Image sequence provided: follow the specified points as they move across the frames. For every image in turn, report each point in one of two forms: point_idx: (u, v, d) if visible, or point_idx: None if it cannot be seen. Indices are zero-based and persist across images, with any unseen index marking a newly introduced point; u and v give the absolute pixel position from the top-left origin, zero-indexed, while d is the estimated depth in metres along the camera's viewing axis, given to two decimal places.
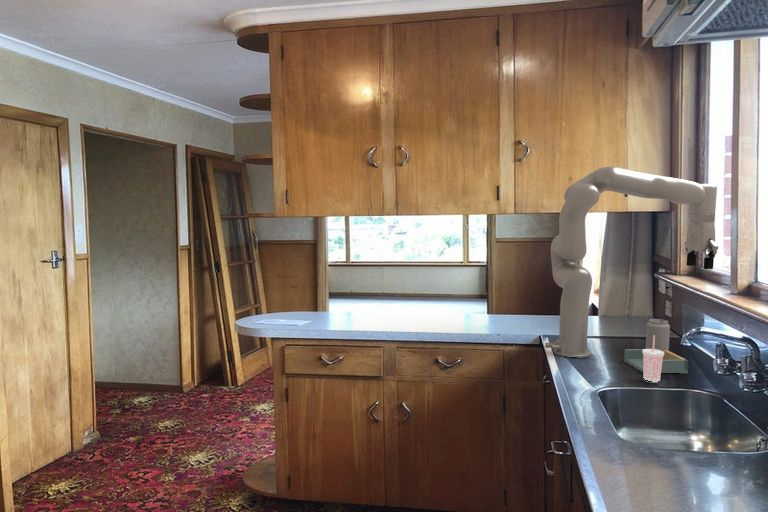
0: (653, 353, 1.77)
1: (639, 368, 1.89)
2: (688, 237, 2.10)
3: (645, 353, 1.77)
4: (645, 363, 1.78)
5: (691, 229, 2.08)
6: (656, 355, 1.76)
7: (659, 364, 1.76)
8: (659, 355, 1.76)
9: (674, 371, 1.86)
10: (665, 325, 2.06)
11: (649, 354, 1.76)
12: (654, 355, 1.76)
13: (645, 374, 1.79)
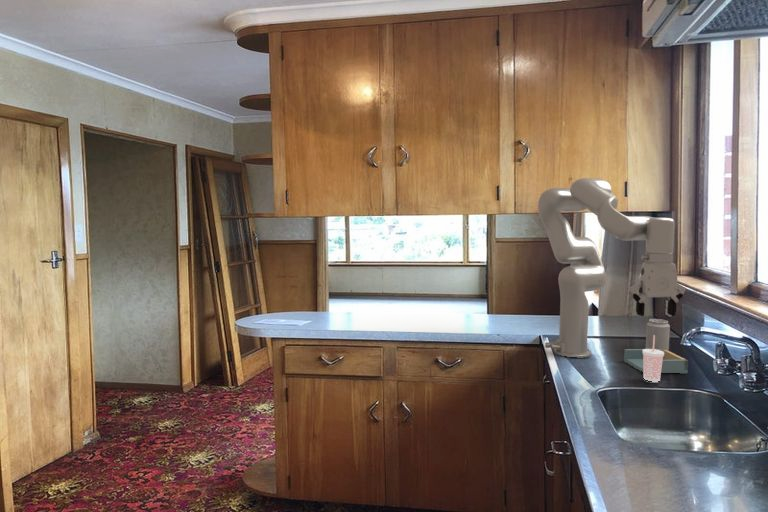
0: (653, 353, 1.77)
1: (639, 368, 1.89)
2: (651, 282, 1.73)
3: (645, 353, 1.77)
4: (645, 363, 1.78)
5: (657, 272, 1.73)
6: (656, 355, 1.76)
7: (659, 364, 1.76)
8: (659, 355, 1.76)
9: (674, 371, 1.86)
10: (665, 325, 2.06)
11: (649, 354, 1.76)
12: (654, 355, 1.76)
13: (645, 374, 1.79)
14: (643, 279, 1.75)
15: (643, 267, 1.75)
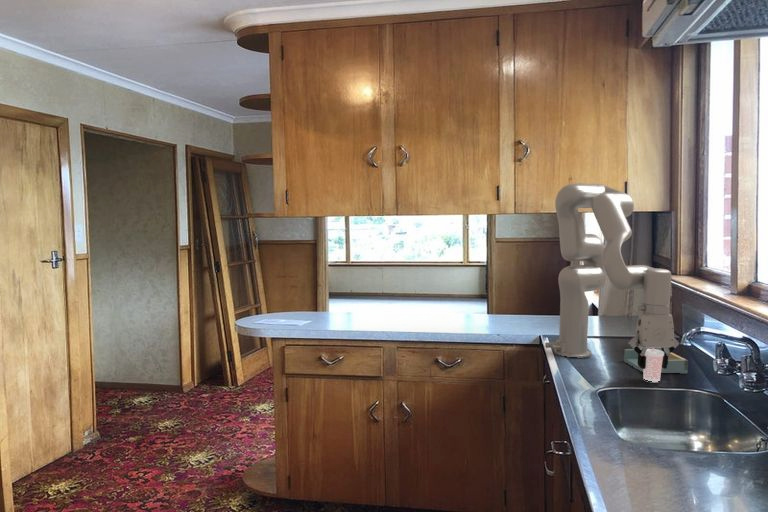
0: (653, 353, 1.77)
1: (639, 368, 1.89)
2: (648, 333, 1.75)
3: (645, 353, 1.77)
4: None
5: (654, 323, 1.75)
6: (656, 355, 1.76)
7: (659, 364, 1.76)
8: (659, 355, 1.76)
9: (674, 371, 1.86)
10: None
11: (649, 354, 1.76)
12: (654, 355, 1.76)
13: (645, 374, 1.79)
14: (640, 330, 1.76)
15: (640, 318, 1.77)
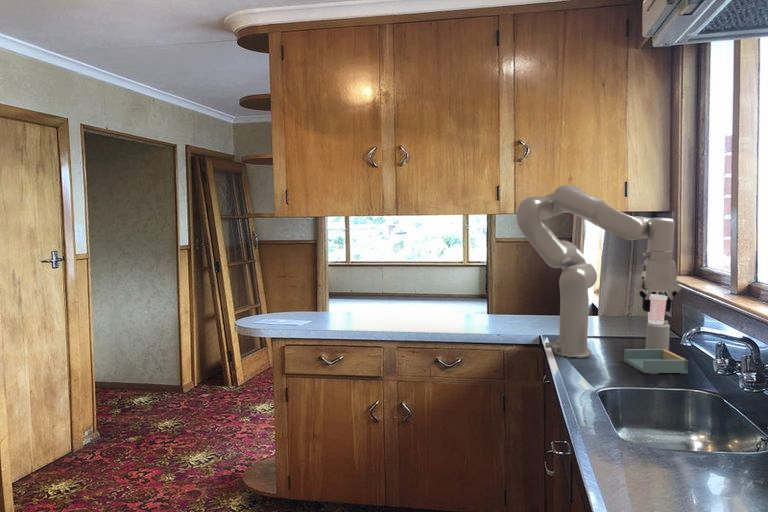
0: (657, 297, 1.88)
1: (639, 368, 1.89)
2: (652, 278, 1.87)
3: (650, 297, 1.89)
4: None
5: (658, 268, 1.86)
6: (660, 298, 1.87)
7: (662, 307, 1.88)
8: (663, 298, 1.87)
9: (674, 371, 1.86)
10: (665, 325, 2.06)
11: (653, 298, 1.88)
12: (658, 298, 1.87)
13: (649, 317, 1.90)
14: (645, 275, 1.88)
15: (645, 264, 1.89)
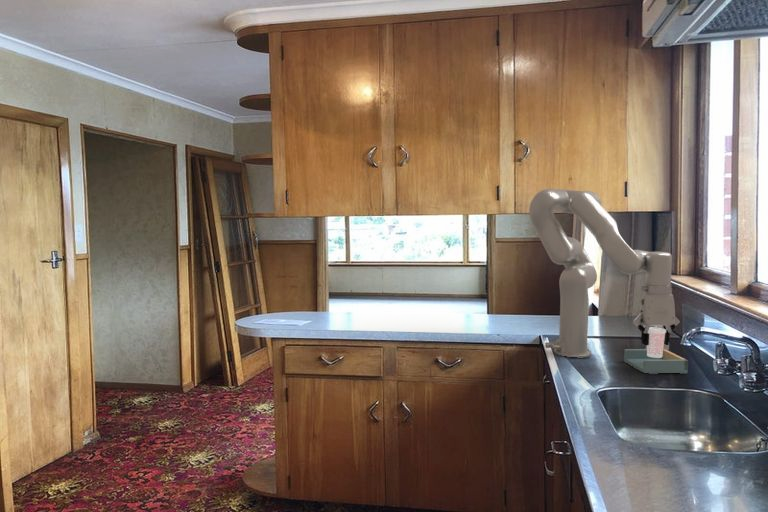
0: (656, 330, 1.89)
1: (639, 368, 1.89)
2: (650, 312, 1.88)
3: (648, 331, 1.90)
4: None
5: (656, 303, 1.88)
6: (658, 332, 1.88)
7: (661, 341, 1.89)
8: (661, 332, 1.88)
9: (674, 371, 1.86)
10: None
11: (652, 331, 1.89)
12: (657, 332, 1.89)
13: (648, 350, 1.91)
14: (643, 309, 1.89)
15: (643, 298, 1.90)
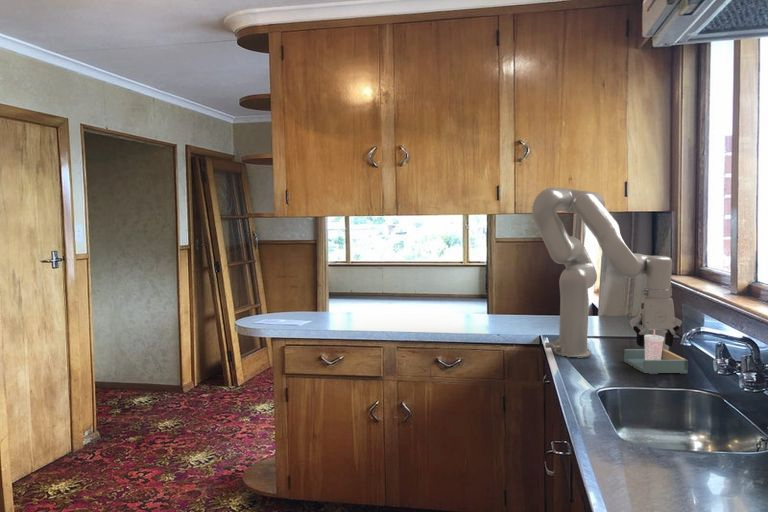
0: (654, 338, 1.90)
1: (639, 368, 1.89)
2: (650, 316, 1.88)
3: (646, 338, 1.91)
4: (646, 348, 1.91)
5: (656, 307, 1.88)
6: (657, 340, 1.89)
7: (659, 348, 1.90)
8: (660, 340, 1.89)
9: (674, 371, 1.86)
10: None
11: (650, 339, 1.90)
12: (655, 340, 1.89)
13: (646, 358, 1.92)
14: (643, 313, 1.89)
15: (643, 301, 1.90)
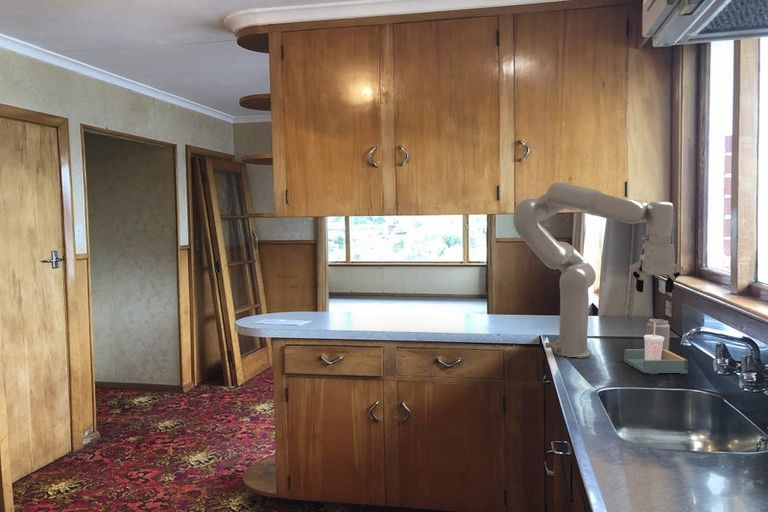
0: (654, 338, 1.90)
1: (639, 368, 1.89)
2: (650, 261, 1.88)
3: (646, 338, 1.91)
4: (646, 348, 1.91)
5: (656, 252, 1.88)
6: (657, 340, 1.89)
7: (659, 348, 1.90)
8: (659, 340, 1.89)
9: (674, 371, 1.86)
10: (665, 325, 2.06)
11: (650, 339, 1.90)
12: (655, 340, 1.89)
13: (646, 358, 1.92)
14: (643, 258, 1.89)
15: (643, 247, 1.90)
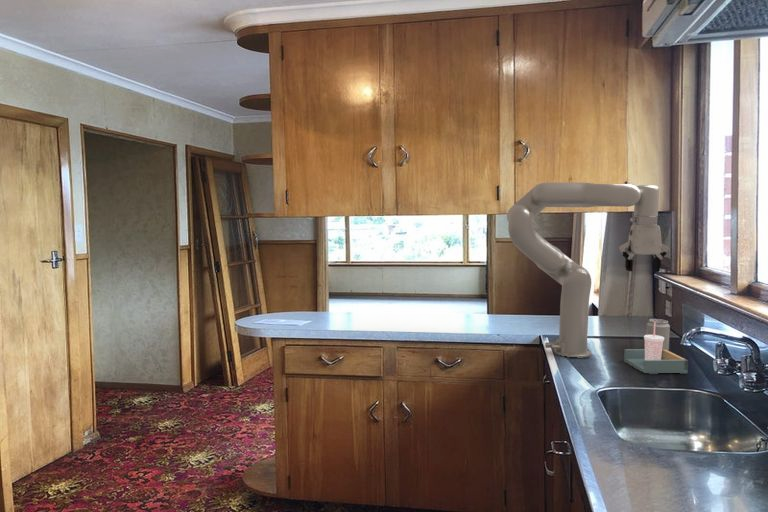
0: (654, 338, 1.90)
1: (639, 368, 1.89)
2: (638, 241, 1.99)
3: (646, 338, 1.91)
4: (646, 348, 1.91)
5: (643, 232, 1.98)
6: (657, 340, 1.89)
7: (659, 348, 1.90)
8: (659, 340, 1.89)
9: (674, 371, 1.86)
10: (665, 325, 2.06)
11: (650, 339, 1.90)
12: (655, 340, 1.89)
13: (646, 358, 1.92)
14: (631, 239, 2.00)
15: (631, 228, 2.01)
